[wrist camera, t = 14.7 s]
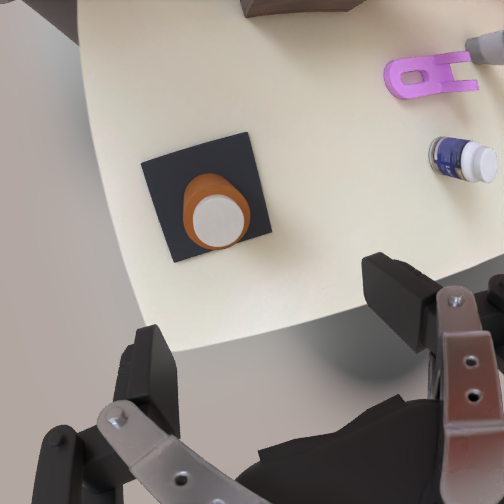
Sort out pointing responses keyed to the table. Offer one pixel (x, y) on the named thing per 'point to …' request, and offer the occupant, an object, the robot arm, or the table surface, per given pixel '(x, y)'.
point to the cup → (487, 48)
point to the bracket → (427, 75)
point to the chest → (294, 6)
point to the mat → (197, 163)
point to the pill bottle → (463, 159)
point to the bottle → (214, 212)
